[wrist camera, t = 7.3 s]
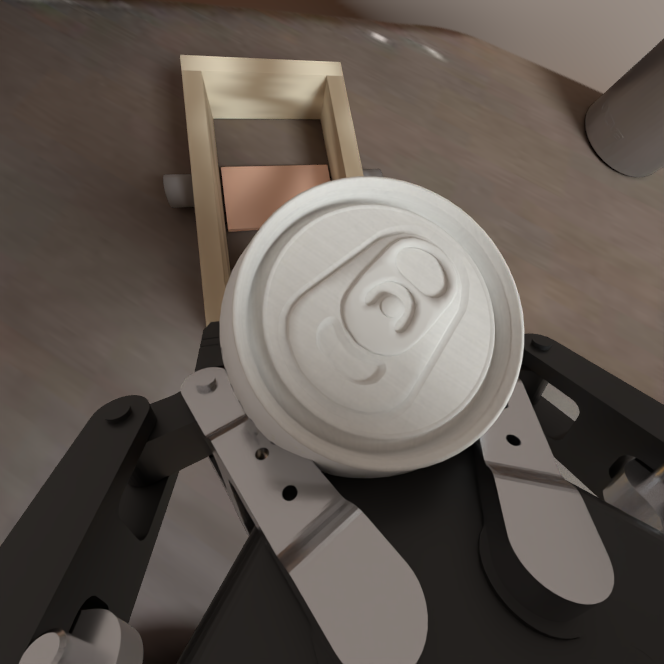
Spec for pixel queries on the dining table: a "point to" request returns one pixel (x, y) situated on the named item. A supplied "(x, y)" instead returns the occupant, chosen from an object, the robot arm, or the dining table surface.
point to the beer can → (371, 328)
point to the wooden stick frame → (255, 181)
